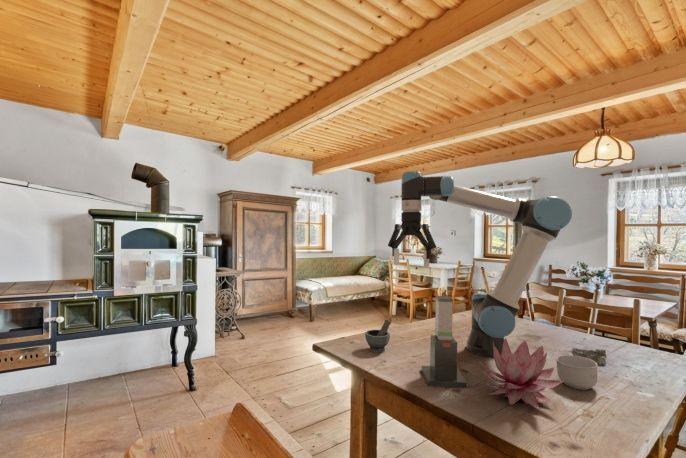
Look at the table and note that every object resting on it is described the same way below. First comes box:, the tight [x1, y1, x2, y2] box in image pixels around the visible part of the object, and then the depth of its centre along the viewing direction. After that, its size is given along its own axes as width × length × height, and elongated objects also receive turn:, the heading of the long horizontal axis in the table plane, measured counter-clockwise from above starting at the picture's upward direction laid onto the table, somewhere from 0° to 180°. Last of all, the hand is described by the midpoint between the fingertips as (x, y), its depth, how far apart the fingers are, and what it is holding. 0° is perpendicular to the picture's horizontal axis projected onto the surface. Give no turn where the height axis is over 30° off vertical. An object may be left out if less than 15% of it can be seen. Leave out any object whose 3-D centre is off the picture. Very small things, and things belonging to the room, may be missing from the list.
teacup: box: [555, 353, 599, 391], centre depth 108 cm, size 14×11×8 cm
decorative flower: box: [479, 337, 564, 409], centre depth 98 cm, size 21×21×15 cm
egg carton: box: [571, 347, 608, 365], centre depth 129 cm, size 11×8×4 cm
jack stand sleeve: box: [420, 334, 468, 388], centre depth 111 cm, size 12×12×13 cm
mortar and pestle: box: [364, 318, 392, 354], centre depth 136 cm, size 11×9×12 cm
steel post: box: [434, 295, 454, 341], centre depth 111 cm, size 4×4×20 cm
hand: (410, 266), depth 131 cm, fingers open, 13 cm apart
